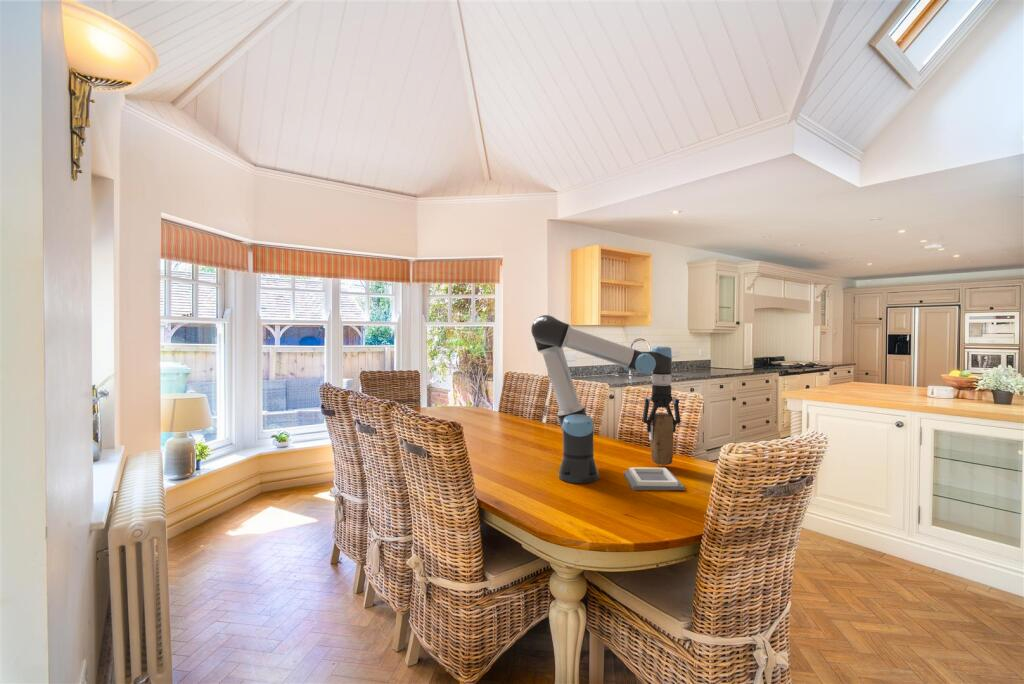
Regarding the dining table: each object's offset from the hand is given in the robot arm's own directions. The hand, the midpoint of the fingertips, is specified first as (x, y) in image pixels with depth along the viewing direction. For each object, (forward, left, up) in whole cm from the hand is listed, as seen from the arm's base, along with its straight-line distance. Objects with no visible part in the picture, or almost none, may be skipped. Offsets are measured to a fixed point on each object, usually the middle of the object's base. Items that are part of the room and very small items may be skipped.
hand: (661, 440), depth 192 cm
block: (0, 0, -9) cm, 9 cm away
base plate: (-8, -18, -12) cm, 23 cm away
